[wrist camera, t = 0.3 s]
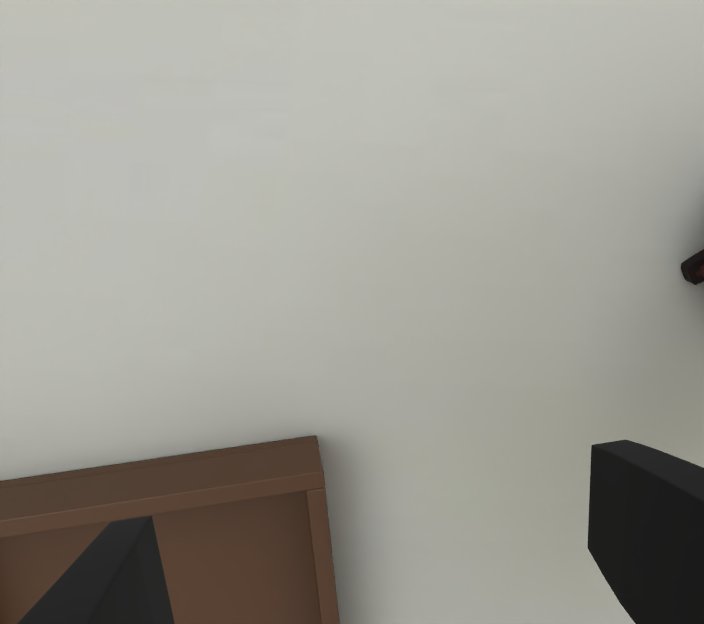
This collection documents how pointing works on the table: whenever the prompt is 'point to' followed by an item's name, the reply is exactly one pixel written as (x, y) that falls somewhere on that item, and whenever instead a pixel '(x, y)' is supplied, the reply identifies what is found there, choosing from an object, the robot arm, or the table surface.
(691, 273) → the mate gourd
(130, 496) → the tray
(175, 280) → the table surface
